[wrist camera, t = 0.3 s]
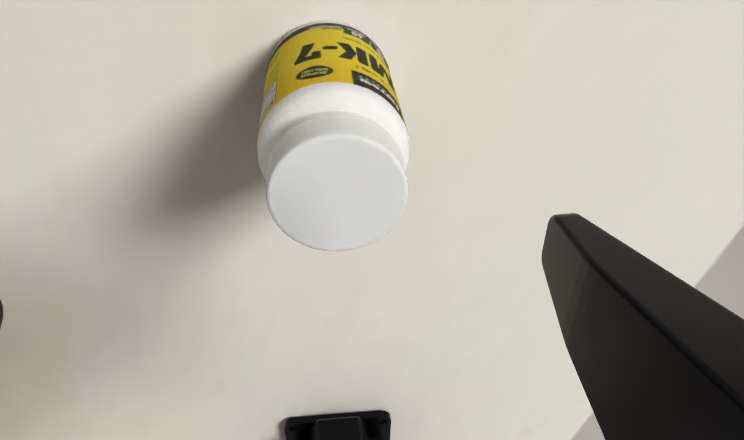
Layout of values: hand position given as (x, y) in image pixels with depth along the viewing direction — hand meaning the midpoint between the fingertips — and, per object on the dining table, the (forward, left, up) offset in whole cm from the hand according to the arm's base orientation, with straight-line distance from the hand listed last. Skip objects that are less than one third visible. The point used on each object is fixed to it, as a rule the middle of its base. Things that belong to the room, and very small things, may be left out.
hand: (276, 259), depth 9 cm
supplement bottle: (-3, -1, -15) cm, 15 cm away
